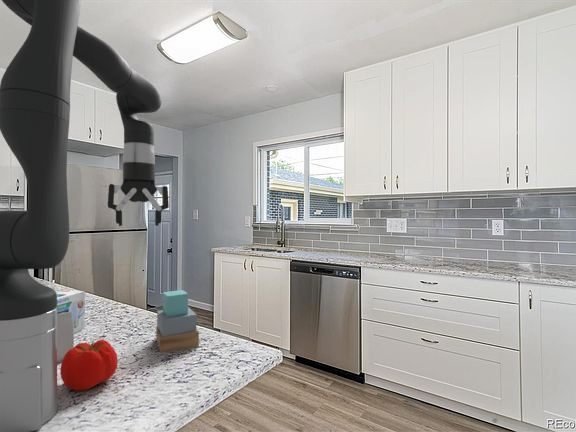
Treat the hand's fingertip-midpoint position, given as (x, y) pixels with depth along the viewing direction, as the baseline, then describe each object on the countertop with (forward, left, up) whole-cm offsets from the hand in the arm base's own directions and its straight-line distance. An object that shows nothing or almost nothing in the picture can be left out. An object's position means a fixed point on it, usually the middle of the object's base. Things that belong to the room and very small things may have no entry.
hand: (139, 225), depth 86 cm
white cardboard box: (-4, +18, -30) cm, 35 cm away
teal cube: (-6, -8, -22) cm, 24 cm away
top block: (-6, -8, -26) cm, 28 cm away
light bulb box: (+14, +19, -30) cm, 38 cm away
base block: (-6, -8, -30) cm, 32 cm away
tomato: (-20, +10, -30) cm, 37 cm away
